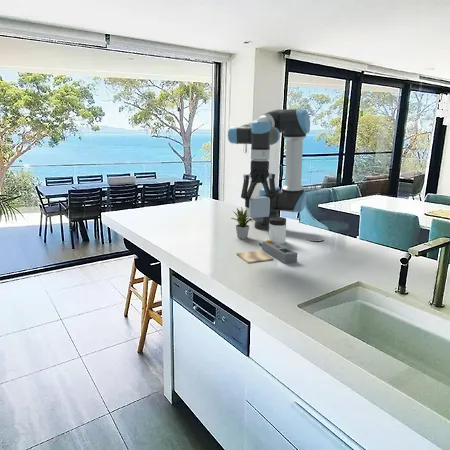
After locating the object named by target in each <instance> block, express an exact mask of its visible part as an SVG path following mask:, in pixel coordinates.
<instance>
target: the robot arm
mask: <svg viewBox="0 0 450 450" xmlns="http://www.w3.org/2000/svg"><path fill="white" fill-rule="evenodd" d="M310 119H311V118H310V114H309V112H308V111H307V110H306V109H302V108H301V109H299V108H295V109H290V108H289V109H274V110H271V111H268V112H265V113H262V114H261V115H259V117H258V118H256V119H254V120H252V121H250V122H247V123H245V124H243V125H235V126H230V127H229V129H228V130H227V140H228V142H229V143H230V144H236V145H239V144H240V145H250V146H251V147H250V151H251V152H250V159H251V161H250V173H249V174H243V183H242V187H241V188H242V190H241V194H240V198H241V199H243V200H244V207H245V209H246V208H247V215H249V216H251V202H252V200H250V198H251V197H252V195H253V193H254V191H255V189H256V186H257V185H258V184H260V183H261V184H262V187H261V188H260V189H258V196H257V197H259V196H266V197H269V198H270V201H269V217H263V222H256V221H254V222H253V223H254V225H253V226H254V228H255V229H257V230H258V229H259V230H263V231H269V223H270V218H271V217H280V215H279V212H281V211H282V212H291V213H302V212H303V211H304V209H305V208H306V207H305V206H306V203H307V198H308V192H307V191H305V188H304V186H303V185H302V173H303V172H302V170H303V147H304V144H303V143H304V139H305V138H306V137H307V134H309V132H310V129H311V120H310ZM281 134H283V138H284V139H285V171H284V172H285V174H284V176H285V177H284V185H283V186H282V187H281V188H280V186H276V183H275V181H276V180H275V178H276V174H275V173H270V172H269V169H270V161H269V160H270V147H271V146H272V145H273V146H274V145H275V144H277V143H278V142H279V141H280V138H281ZM250 180H251V181H250Z"/></svg>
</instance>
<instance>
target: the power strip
mask: <svg viewBox="0 0 450 450" xmlns="http://www.w3.org/2000/svg"><path fill="white" fill-rule="evenodd" d="M258 245H260V246H261V251H262V252H264V253H265V254H267V255H268V256H270V257H272V258H273V259H276V260H277V261H279V262H280V263H283V265H284V264H285V265H287V264H292V263H293V264H294V263H295V264H296V263H298V253H297V251H294V250H292V249H290V248H289V247H286V246H285V245H283V244H279V243H278V242H276V241H272V240H269V239H266V240H265V241H262V242H259V243H258Z"/></svg>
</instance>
